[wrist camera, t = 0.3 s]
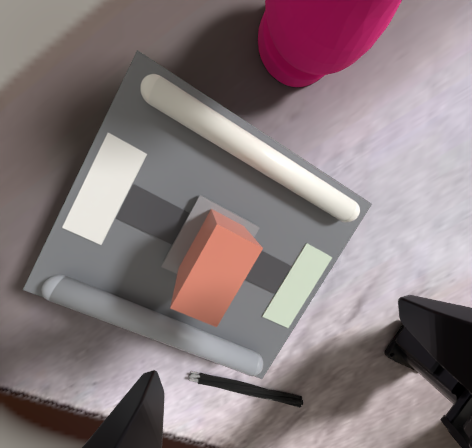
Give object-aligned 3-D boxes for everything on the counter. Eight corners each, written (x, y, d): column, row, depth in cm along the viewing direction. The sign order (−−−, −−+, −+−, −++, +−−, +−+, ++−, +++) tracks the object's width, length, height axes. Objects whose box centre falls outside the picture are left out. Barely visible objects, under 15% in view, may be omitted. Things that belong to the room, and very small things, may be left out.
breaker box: (340, 198, 22) (388, 206, 16) (251, 344, 23) (267, 396, 18) (150, 77, 17) (129, 34, 12) (58, 266, 19) (2, 303, 14)
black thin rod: (188, 375, 23) (187, 384, 22) (192, 366, 23) (192, 375, 22) (296, 400, 26) (300, 409, 25) (300, 393, 26) (304, 402, 25)
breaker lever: (257, 225, 16) (285, 250, 11) (220, 290, 17) (230, 341, 12) (199, 194, 15) (200, 205, 10) (162, 263, 16) (145, 307, 11)
